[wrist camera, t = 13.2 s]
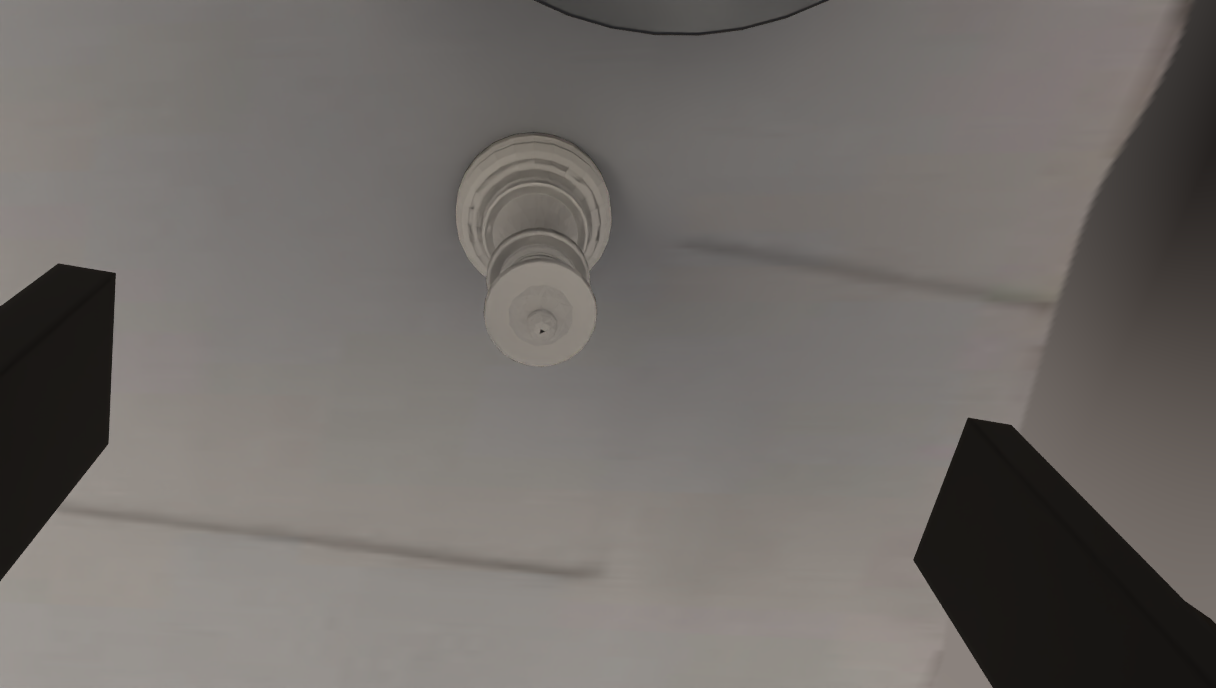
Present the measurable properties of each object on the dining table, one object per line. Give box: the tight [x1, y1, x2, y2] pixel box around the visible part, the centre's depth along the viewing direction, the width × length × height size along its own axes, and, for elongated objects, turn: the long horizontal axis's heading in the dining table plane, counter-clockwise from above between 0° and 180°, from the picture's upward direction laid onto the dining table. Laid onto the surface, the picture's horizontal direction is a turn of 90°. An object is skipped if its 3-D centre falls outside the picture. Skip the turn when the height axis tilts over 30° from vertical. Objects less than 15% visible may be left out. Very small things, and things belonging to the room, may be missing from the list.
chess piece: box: [456, 132, 612, 367], centre depth 25 cm, size 4×4×10 cm
